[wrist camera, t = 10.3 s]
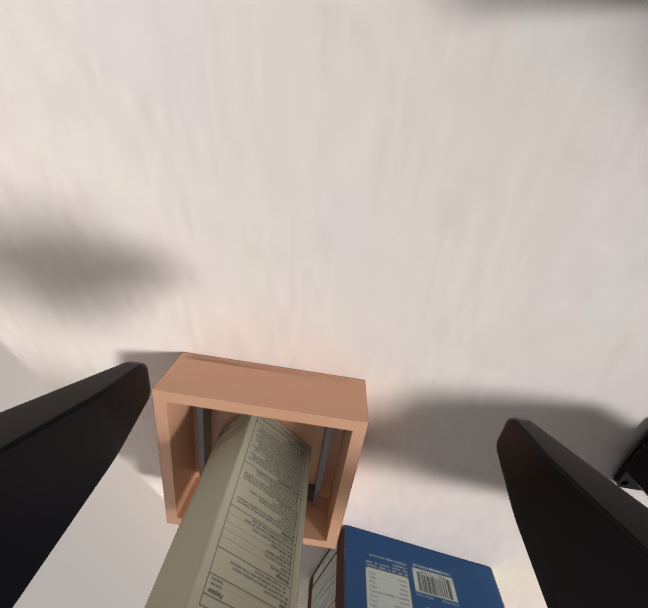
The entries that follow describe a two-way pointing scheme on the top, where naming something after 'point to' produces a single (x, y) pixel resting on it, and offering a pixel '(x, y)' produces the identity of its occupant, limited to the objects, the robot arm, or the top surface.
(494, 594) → the protein box
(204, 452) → the thin grey square frame
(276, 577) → the skincare box
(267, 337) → the top surface
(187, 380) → the wooden cubby frame
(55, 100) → the top surface
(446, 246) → the top surface
